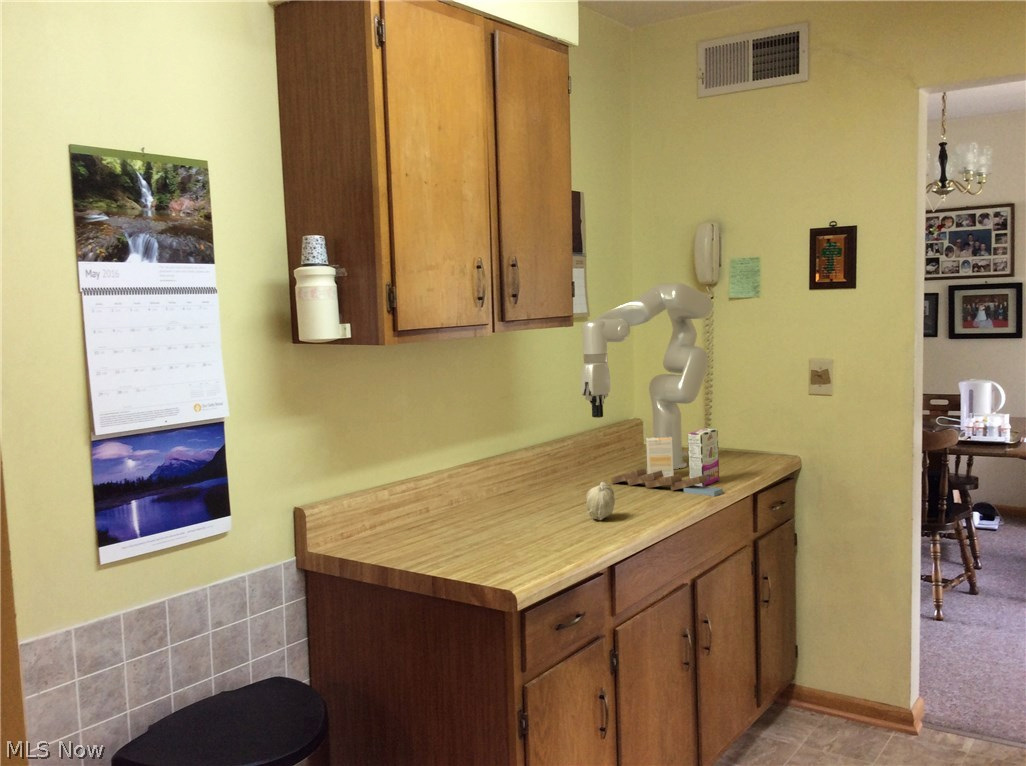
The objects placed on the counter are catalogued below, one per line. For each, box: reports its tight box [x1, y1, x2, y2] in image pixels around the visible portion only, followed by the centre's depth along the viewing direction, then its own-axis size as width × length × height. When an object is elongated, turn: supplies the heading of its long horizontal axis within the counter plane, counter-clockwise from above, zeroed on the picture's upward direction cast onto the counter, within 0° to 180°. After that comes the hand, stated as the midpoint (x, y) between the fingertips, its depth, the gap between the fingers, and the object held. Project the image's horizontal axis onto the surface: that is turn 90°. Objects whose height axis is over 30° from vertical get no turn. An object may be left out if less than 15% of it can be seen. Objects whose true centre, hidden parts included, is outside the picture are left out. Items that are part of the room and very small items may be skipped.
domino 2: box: [626, 470, 664, 487], centre depth 273 cm, size 2×5×10 cm
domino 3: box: [644, 473, 683, 489], centre depth 269 cm, size 2×5×10 cm
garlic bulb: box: [585, 481, 616, 521], centre depth 233 cm, size 10×8×10 cm
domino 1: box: [610, 467, 647, 484], centre depth 278 cm, size 2×5×10 cm
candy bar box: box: [687, 427, 720, 487], centre depth 274 cm, size 11×5×16 cm, turn 141°
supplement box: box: [645, 437, 675, 479], centre depth 285 cm, size 8×5×13 cm, turn 84°
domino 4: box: [669, 474, 708, 492], centre depth 264 cm, size 2×5×10 cm
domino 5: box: [683, 485, 724, 497], centre depth 261 cm, size 2×5×10 cm
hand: (597, 417), depth 284 cm, fingers closed
